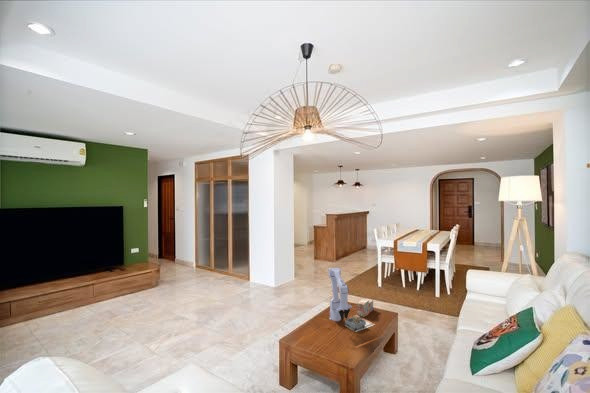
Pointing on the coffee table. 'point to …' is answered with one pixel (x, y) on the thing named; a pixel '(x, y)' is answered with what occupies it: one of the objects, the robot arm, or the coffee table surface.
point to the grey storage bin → (352, 324)
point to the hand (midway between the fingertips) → (344, 318)
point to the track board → (361, 326)
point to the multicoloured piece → (364, 307)
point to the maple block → (356, 319)
